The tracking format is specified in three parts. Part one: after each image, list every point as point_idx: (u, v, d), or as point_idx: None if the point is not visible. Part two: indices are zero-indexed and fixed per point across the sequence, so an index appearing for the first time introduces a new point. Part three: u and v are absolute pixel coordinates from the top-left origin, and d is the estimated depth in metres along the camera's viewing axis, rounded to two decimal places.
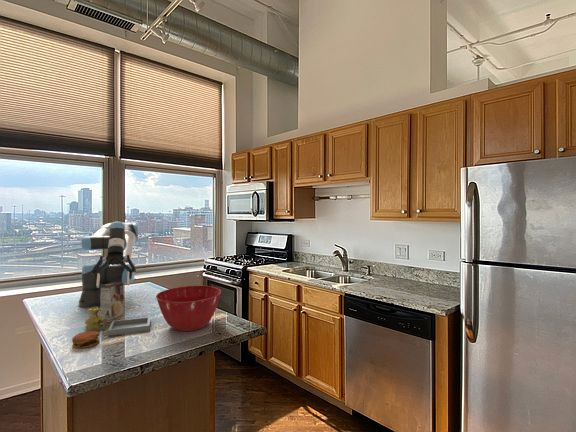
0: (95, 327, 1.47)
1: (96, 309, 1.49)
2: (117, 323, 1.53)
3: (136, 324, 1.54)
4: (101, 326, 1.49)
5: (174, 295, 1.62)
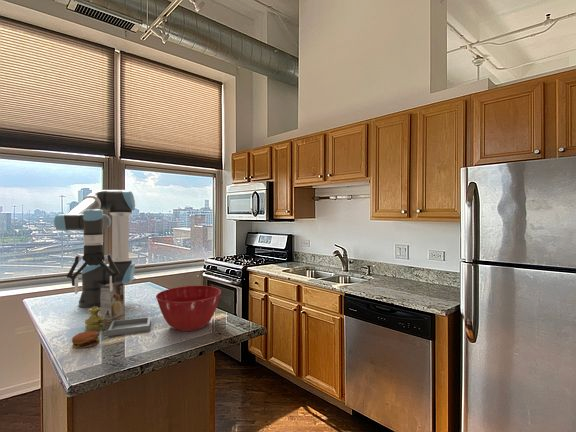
0: (95, 327, 1.47)
1: (96, 309, 1.49)
2: (117, 323, 1.53)
3: (136, 324, 1.54)
4: (101, 326, 1.49)
5: (174, 295, 1.62)
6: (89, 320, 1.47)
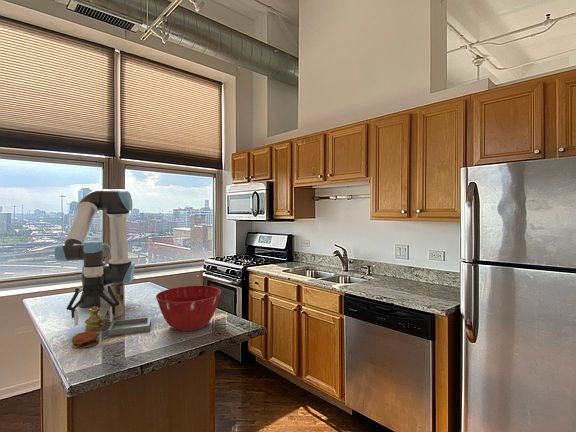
0: (95, 327, 1.47)
1: (96, 309, 1.49)
2: (117, 323, 1.53)
3: (136, 324, 1.54)
4: (101, 326, 1.49)
5: (174, 295, 1.62)
6: (89, 320, 1.47)
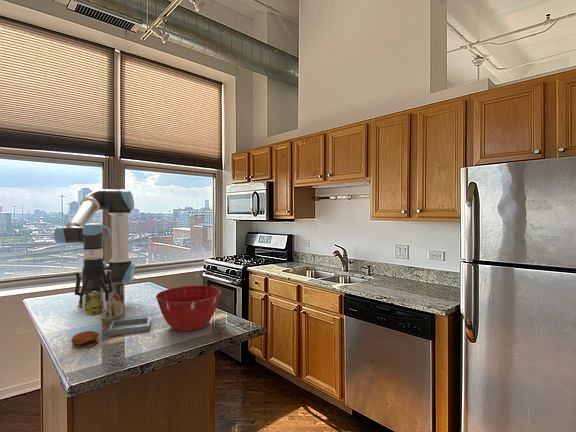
0: (95, 311, 1.47)
1: (96, 293, 1.49)
2: (117, 323, 1.53)
3: (136, 324, 1.54)
4: (101, 310, 1.49)
5: (174, 295, 1.62)
6: (89, 304, 1.47)
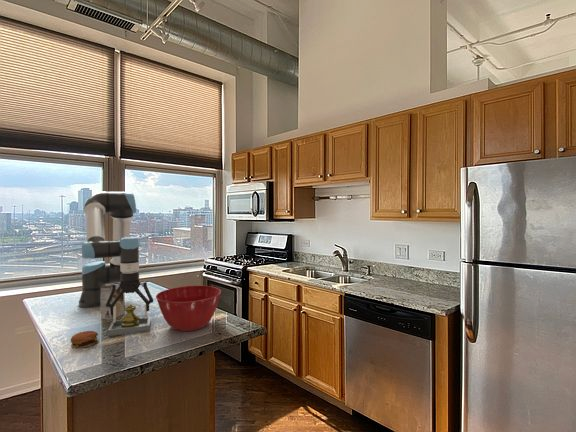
0: (131, 325, 1.47)
1: (132, 307, 1.49)
2: (117, 323, 1.53)
3: None
4: (137, 324, 1.50)
5: (174, 295, 1.62)
6: (125, 318, 1.47)
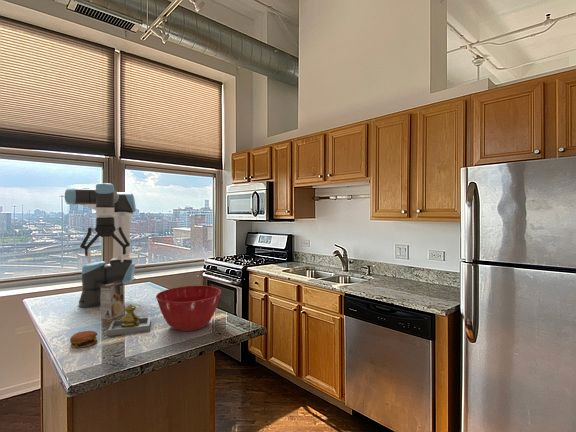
0: (131, 325, 1.47)
1: (132, 307, 1.49)
2: (117, 323, 1.53)
3: None
4: (137, 324, 1.50)
5: (174, 295, 1.62)
6: (125, 318, 1.47)
